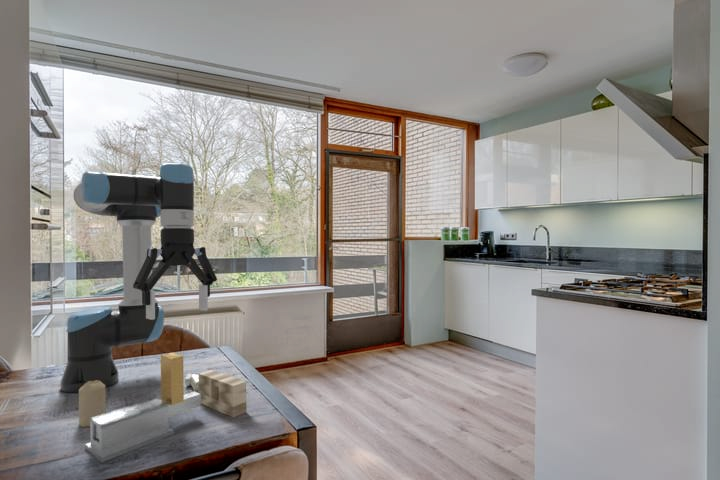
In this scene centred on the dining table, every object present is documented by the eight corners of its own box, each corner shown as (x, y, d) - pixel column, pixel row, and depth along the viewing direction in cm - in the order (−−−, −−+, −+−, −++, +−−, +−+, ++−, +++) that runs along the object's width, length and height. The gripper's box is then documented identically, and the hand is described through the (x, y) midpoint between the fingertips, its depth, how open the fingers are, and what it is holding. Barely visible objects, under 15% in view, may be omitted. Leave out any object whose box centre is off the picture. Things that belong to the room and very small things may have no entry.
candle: (85, 429, 97) (85, 387, 97) (74, 423, 100) (74, 383, 100) (110, 420, 102) (109, 380, 102) (98, 415, 105) (98, 376, 105)
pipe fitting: (202, 394, 120) (215, 385, 126) (201, 382, 119) (214, 372, 126) (178, 393, 121) (192, 383, 128) (177, 380, 121) (191, 371, 128)
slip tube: (93, 435, 88) (93, 370, 87) (192, 402, 105) (191, 348, 105) (103, 442, 84) (102, 375, 84) (202, 406, 102) (202, 351, 102)
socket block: (198, 402, 113) (198, 373, 113) (211, 397, 116) (211, 369, 116) (233, 417, 103) (232, 385, 103) (246, 412, 106) (246, 381, 106)
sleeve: (85, 448, 88) (84, 416, 88) (155, 423, 100) (155, 395, 100) (102, 462, 82) (101, 428, 82) (174, 434, 94) (173, 404, 94)
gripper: (131, 226, 88) (132, 325, 88) (230, 228, 108) (230, 308, 108) (115, 227, 92) (116, 321, 92) (213, 228, 112) (214, 305, 112)
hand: (178, 314), depth 100 cm, fingers open, 13 cm apart
